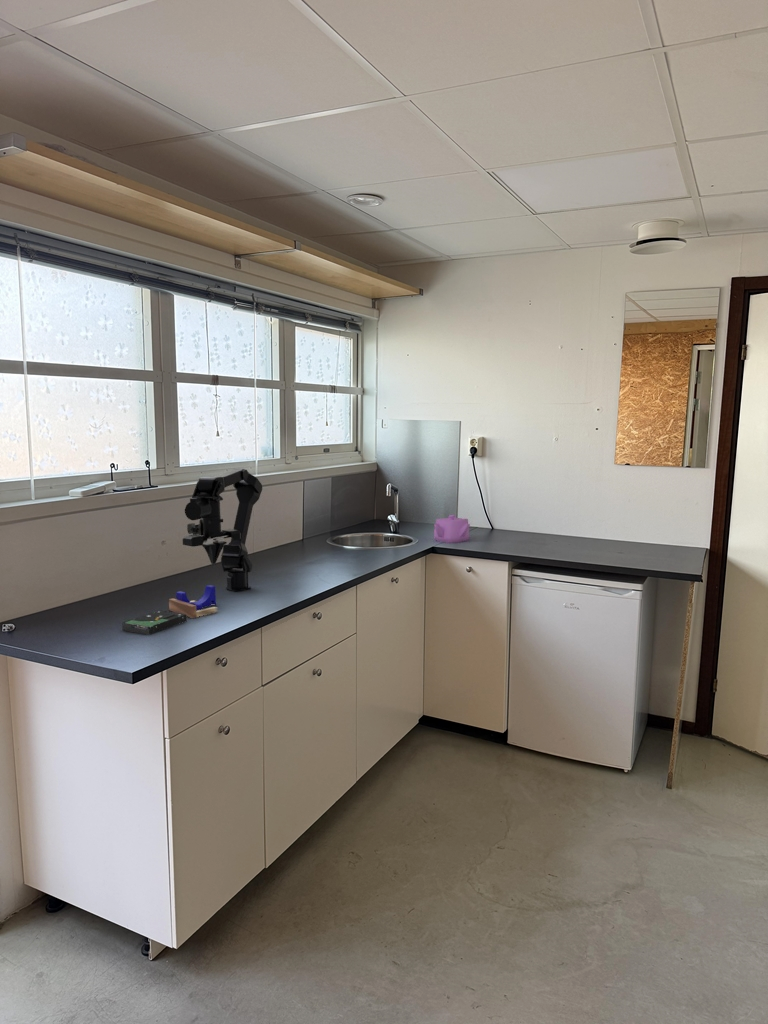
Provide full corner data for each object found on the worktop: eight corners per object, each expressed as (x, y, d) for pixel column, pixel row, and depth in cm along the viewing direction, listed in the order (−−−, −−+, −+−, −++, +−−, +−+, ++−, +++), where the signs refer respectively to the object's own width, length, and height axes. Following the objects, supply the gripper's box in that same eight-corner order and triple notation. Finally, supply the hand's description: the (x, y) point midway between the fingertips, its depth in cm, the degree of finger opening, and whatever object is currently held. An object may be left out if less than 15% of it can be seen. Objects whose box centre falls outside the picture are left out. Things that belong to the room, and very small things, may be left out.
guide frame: (193, 604, 219) (193, 594, 219) (217, 612, 211) (216, 601, 210) (169, 610, 213) (168, 599, 213) (192, 618, 205) (191, 606, 204)
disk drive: (160, 618, 207) (121, 631, 194) (160, 609, 206) (121, 621, 193) (187, 623, 202) (149, 636, 189) (187, 613, 202) (148, 626, 189)
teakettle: (468, 537, 343) (468, 512, 342) (470, 543, 326) (470, 517, 325) (433, 537, 344) (433, 512, 343) (433, 543, 327) (433, 517, 326)
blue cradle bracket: (185, 613, 210) (184, 594, 210) (177, 611, 213) (176, 592, 212) (218, 605, 219) (218, 587, 218) (210, 603, 222) (209, 585, 221)
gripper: (220, 510, 235) (222, 556, 237) (171, 517, 221) (173, 565, 223) (240, 513, 228) (242, 560, 230) (191, 520, 214) (194, 570, 216)
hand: (213, 563), depth 225 cm, fingers closed
